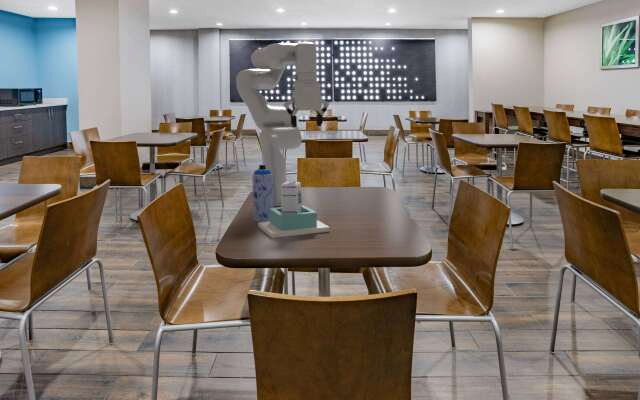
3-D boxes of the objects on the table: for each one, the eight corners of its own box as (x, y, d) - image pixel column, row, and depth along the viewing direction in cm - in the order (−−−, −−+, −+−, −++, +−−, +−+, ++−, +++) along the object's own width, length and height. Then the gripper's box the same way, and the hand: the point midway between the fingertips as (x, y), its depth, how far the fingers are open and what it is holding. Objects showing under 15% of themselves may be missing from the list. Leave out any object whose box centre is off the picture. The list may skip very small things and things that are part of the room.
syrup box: (298, 227, 180) (298, 184, 177) (281, 226, 181) (280, 183, 178) (302, 222, 186) (301, 181, 183) (285, 222, 187) (284, 181, 184)
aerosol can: (250, 217, 200) (248, 164, 196) (270, 215, 203) (269, 163, 199) (256, 222, 193) (254, 167, 189) (277, 220, 196) (276, 165, 192)
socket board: (258, 226, 187) (257, 208, 186) (311, 220, 194) (311, 203, 193) (272, 238, 173) (271, 218, 171) (329, 231, 180) (329, 212, 179)
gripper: (286, 78, 187) (287, 127, 190) (332, 78, 193) (332, 126, 196) (279, 78, 193) (281, 126, 197) (324, 78, 200) (324, 125, 203)
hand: (306, 126), depth 197 cm, fingers open, 9 cm apart
